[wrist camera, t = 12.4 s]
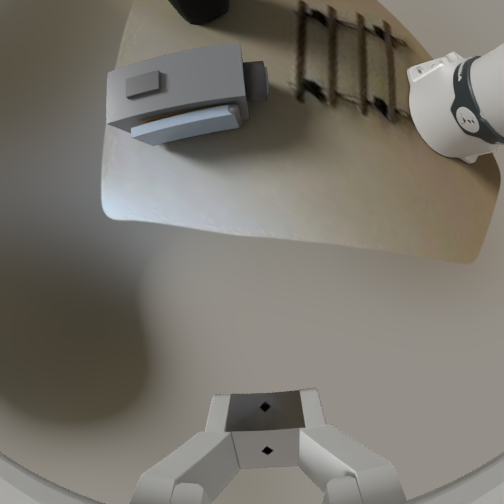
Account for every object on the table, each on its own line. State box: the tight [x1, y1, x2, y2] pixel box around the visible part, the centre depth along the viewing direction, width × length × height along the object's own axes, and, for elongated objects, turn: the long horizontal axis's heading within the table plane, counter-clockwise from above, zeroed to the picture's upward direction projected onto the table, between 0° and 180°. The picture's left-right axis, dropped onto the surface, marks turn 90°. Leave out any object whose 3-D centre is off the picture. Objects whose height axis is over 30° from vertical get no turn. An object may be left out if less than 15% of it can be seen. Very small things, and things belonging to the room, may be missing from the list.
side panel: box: [131, 104, 243, 146], centre depth 31 cm, size 13×1×7 cm, turn 98°
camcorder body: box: [106, 42, 269, 133], centre depth 30 cm, size 19×7×11 cm, turn 95°
